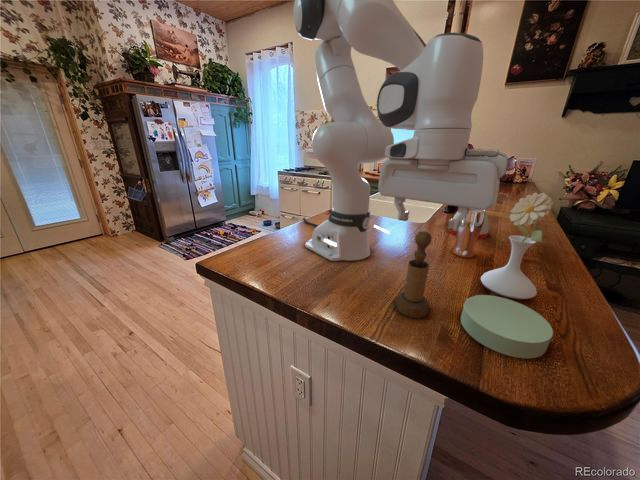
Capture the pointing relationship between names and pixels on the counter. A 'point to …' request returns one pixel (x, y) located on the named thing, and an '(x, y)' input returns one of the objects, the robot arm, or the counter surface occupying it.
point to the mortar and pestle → (416, 281)
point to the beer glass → (469, 232)
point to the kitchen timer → (484, 229)
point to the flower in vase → (519, 249)
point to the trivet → (506, 326)
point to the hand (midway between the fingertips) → (426, 224)
